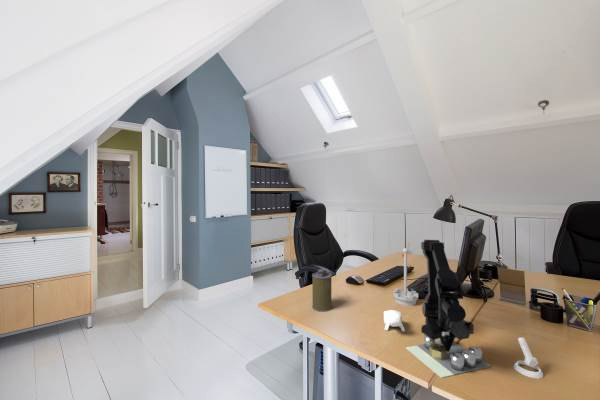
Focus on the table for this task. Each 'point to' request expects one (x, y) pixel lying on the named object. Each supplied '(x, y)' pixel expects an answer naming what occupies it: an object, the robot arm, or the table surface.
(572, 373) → the table surface
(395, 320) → the white footed lump
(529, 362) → the white vr controller
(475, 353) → the spacers
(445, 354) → the faceted tan block
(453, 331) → the robot arm
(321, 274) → the canister
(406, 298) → the flag stand
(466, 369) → the mat
